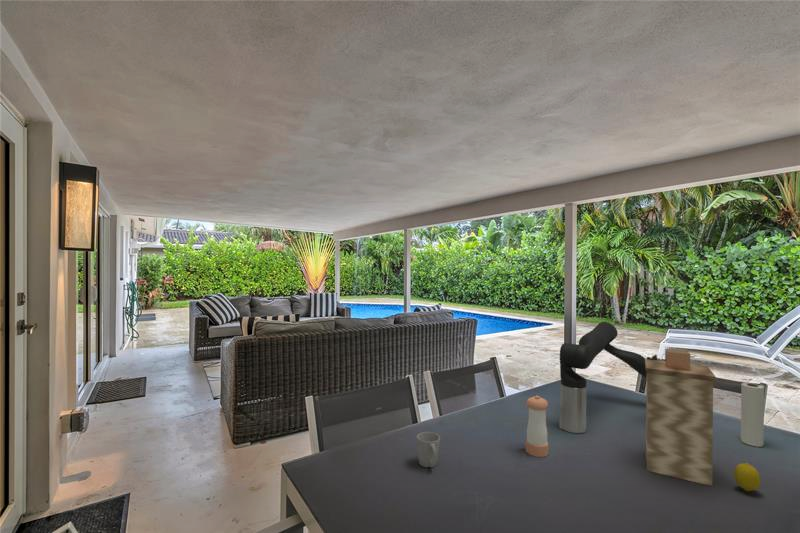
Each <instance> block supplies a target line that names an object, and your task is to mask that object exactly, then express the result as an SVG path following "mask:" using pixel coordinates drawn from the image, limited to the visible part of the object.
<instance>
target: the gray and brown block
mask: <svg viewBox="0 0 800 533" xmlns="http://www.w3.org/2000/svg"><path fill="white" fill-rule="evenodd" d="M664 350H665V351H664V358H665V365H666V368H673V369H681V370H690V364H691V353H690V351H688V350H683V349H682V350H681V349H673V348H664Z"/></svg>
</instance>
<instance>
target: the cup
mask: <svg viewBox="0 0 800 533" xmlns="http://www.w3.org/2000/svg"><path fill="white" fill-rule="evenodd" d="M415 437H416V446H417V455H418V456H417V457H418V463H419V465H420V466H421V467H423V468H428V467H430V468H434V467H436V466H437V464H438V457H439V452H440V444H441V443H440V442H441V436H440V435H439V434H438V433H435V432H432V431H423V432H420V433H418V434H417V435H416V436H415Z"/></svg>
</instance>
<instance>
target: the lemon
mask: <svg viewBox="0 0 800 533" xmlns="http://www.w3.org/2000/svg"><path fill="white" fill-rule="evenodd" d="M733 475H734V476H733V477H734V480H735V482H736V483H737V485H738V486H739V487H740V488H741V489H743V490H744V491H745V492H749V493H750V492H752V491H755V490H758V489H759V488H760V485H761V476H760V473H759V471H758V470H757V468H755V467H754V466H753V465H751V464H750V463H748V462H744V463H739V464H737V465H736V466H735V468H734V472H733Z"/></svg>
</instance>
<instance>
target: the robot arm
mask: <svg viewBox="0 0 800 533" xmlns="http://www.w3.org/2000/svg"><path fill="white" fill-rule="evenodd" d="M618 335H619V334H618V330H617V328H616V327H615V325H613V324H612V323H610V322H608V321H601V322H599V323H598V324H597V325H596V326H595V327H594V328H593V329H592V330H590V331H588V332H587V333H585V334H583V336H581V338H580V339H579V341H578V344H576V343H570V342H569V343H567V342H565V343H562V345H561V346H560V348H559V369H560V371H559V372H560V373H559V374H560V375H559V376H560V403H559V419H558V420H559V426H558V427H559V429H560V430H563V431H565V432H569V433H573V434H584V433H585V432H586V431H587V379H586V378H585V377H583V376H582V375H580V374H578V373H577V372H576V371H574V369H578V370H586V369H588V368H589V367H590V365H591V364H592V363H593V361H594V359H595V358H596V357H597V356H598V355H599V354H600V353H601V352H602V351H606V352H607V353H609V354H610V355H612V356H614V357H616V358H617V359H618V360H621V361H622V362H623V363H625V364H627V365H628V366H629V367H630V368H632V369H633V370H634V371H635V372H636V373H638V374H639V375H641V376H642V377H643V378H647V373H646V368H645V359H649V360H658V361H665V359H661V358H658V355H657V354H654V355H652V357H649V356H647V357H646V358H645V357H644V356H643V355H641V354H639V353H638V352H637V353H636V352H633V351H630V350H625V349H621V348H618V347H616V346H614V345H612V344H611V343H612V342H613V341H614V340H615V339H616V338H617V337H618Z"/></svg>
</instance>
